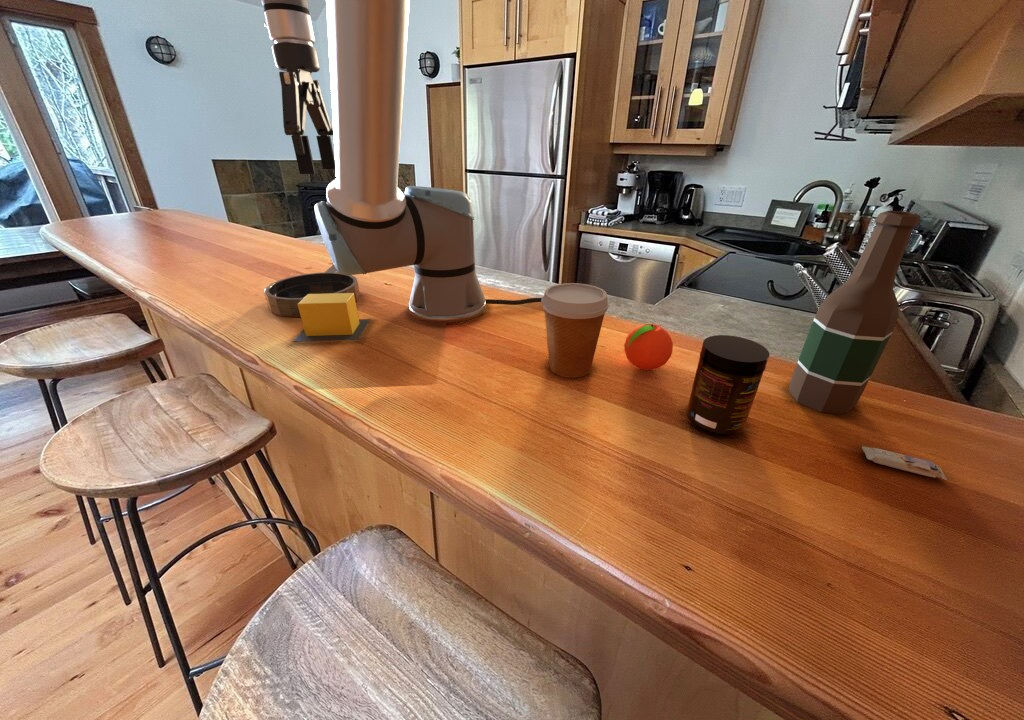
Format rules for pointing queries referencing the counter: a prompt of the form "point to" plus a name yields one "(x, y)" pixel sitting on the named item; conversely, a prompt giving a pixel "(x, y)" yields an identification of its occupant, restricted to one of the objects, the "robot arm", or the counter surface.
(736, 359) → the supplement container
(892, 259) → the beer bottle
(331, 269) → the pan handle
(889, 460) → the granola bar
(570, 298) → the disposable coffee cup
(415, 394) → the counter surface
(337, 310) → the sponge
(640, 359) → the clementine
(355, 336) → the mat
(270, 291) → the pan
